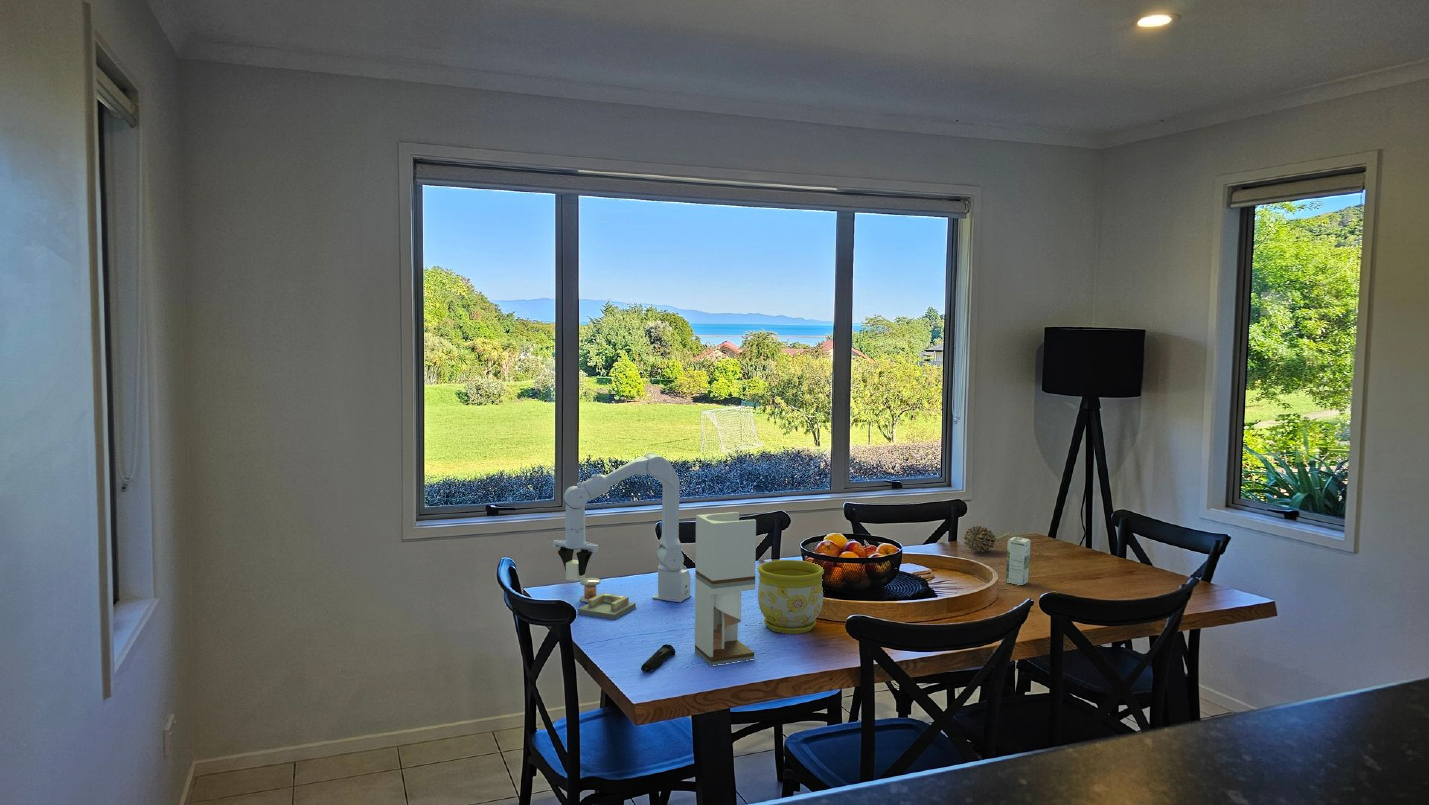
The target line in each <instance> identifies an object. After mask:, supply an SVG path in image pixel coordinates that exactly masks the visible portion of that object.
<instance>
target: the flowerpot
mask: <svg viewBox="0 0 1429 805" xmlns="http://www.w3.org/2000/svg"><path fill="white" fill-rule="evenodd" d="M757 572H758V573H759V576H758V579H759V581H758V586H757V587H758V589H757V602H758V607H759V610H760V612H761V614H762V615H763V617H764V619H763V623H764V624H765V625H766V626H767V628H768V629H769V630H771V631H773V632H775V633H776V632H777V633H780V632H781V633H780V634H790V635H792V634H793V635H795V634H802V633H803V634H804V633H808V632H809V631H811V630H812V629H813V628H814V627H815V626H816V625H817V620H816V619H817V617H818V616H819V615H820V612H822V611H821V610H822V609H823V604H824V603H823V602H824V592H823V587H822V581H823V579H822V575H823V574H824V569H823V567H821V566H820V565H818V564H815V563H812V561H807V560H800V559H799V560H797V559H774V560H769V561H766V562H763V563H761V564H759V565H758V566H757Z"/></svg>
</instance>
